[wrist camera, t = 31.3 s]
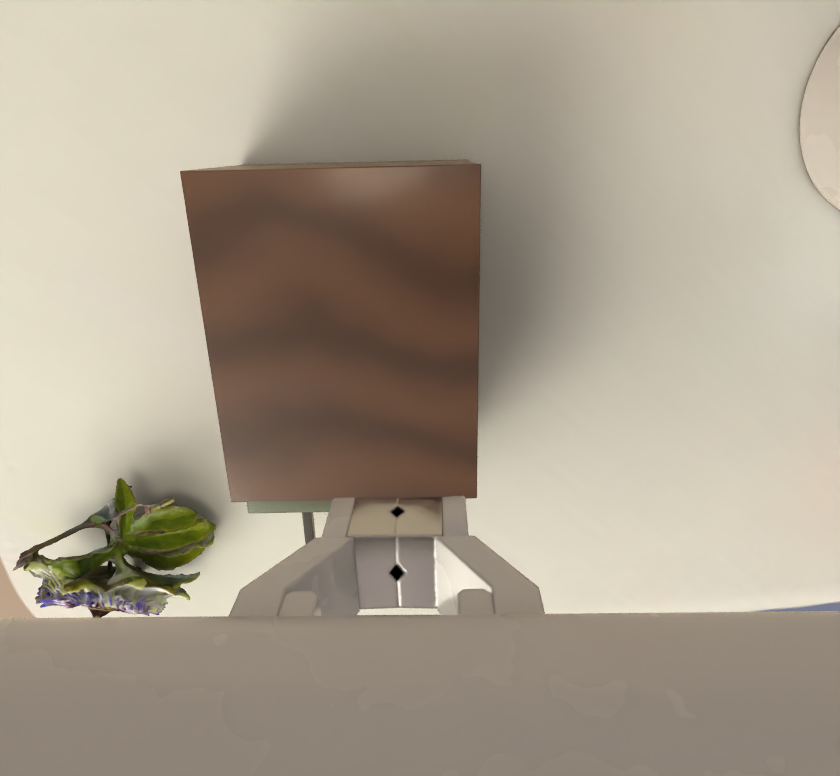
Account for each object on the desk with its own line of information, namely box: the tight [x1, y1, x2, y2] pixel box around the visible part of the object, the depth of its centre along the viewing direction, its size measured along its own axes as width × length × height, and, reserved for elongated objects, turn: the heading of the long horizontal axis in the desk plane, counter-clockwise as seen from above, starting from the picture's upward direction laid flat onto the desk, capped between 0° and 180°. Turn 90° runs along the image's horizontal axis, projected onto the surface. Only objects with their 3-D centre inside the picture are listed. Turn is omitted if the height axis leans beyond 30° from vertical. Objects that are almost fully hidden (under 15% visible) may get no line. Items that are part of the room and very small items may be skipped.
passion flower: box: [13, 478, 216, 618], centre depth 46 cm, size 11×11×12 cm
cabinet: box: [180, 160, 481, 502], centre depth 38 cm, size 19×15×11 cm
